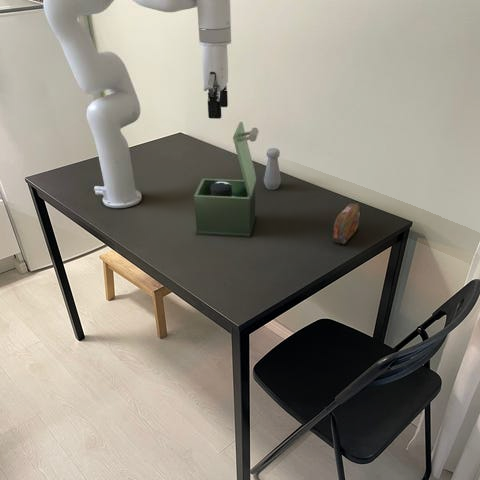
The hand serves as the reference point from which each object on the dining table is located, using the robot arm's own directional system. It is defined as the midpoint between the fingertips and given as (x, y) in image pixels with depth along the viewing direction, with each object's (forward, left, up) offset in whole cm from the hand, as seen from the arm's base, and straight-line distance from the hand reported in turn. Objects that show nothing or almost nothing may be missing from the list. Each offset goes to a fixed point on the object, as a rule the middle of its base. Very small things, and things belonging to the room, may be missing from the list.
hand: (218, 112), depth 124 cm
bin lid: (+7, 0, -12) cm, 14 cm away
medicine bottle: (0, 0, -32) cm, 32 cm away
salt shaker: (+12, +29, -32) cm, 45 cm away
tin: (+36, -3, -32) cm, 48 cm away
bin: (+1, 0, -32) cm, 32 cm away
